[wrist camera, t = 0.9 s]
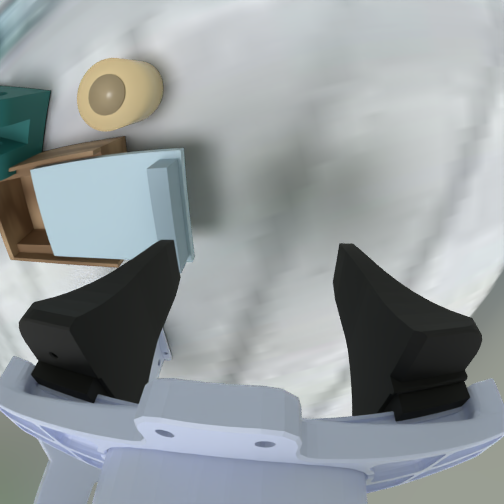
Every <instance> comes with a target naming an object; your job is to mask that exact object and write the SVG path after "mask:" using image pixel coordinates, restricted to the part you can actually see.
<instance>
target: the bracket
mask: <svg viewBox="0 0 504 504" xmlns="http://www.w3.org/2000/svg"><path fill="white" fill-rule="evenodd" d="M50 92H51V91H49V90H41V89H32V88H22V87H10V86H0V181H1V180H4V179H6V178H8V177H10V176H12V175H14V174H16V170H15V171H11V172H9V168H11V167H13V166H15V165H16V164H18V163H20V162H22V161H24V160H26V159H28V158H31V157H33V156H35V155H37V154H39V153H41V152H42V146H43V137H44V129H45V121H46V115H47V108H48V103H49V97H50Z"/></svg>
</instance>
